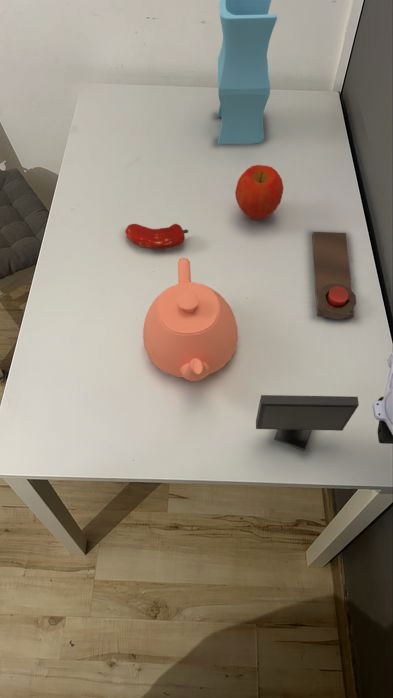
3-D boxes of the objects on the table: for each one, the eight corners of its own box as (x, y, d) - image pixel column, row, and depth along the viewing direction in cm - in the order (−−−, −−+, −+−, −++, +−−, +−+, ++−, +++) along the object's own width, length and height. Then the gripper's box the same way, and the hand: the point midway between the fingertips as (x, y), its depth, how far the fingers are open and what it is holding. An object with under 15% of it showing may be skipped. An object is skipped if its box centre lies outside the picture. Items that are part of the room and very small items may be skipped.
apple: (243, 238, 93) (246, 194, 84) (227, 207, 97) (228, 162, 88) (285, 226, 94) (294, 181, 85) (268, 196, 98) (274, 150, 89)
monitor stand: (304, 451, 73) (312, 435, 67) (274, 439, 74) (279, 423, 68) (313, 423, 75) (321, 406, 69) (283, 412, 76) (289, 394, 70)
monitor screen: (342, 431, 69) (359, 405, 62) (255, 429, 70) (261, 404, 62) (341, 422, 70) (357, 396, 62) (255, 421, 70) (261, 394, 63)
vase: (264, 143, 106) (277, 17, 84) (217, 144, 106) (219, 18, 84) (261, 113, 111) (274, -13, 89) (217, 114, 111) (218, -12, 89)
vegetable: (187, 215, 91) (124, 220, 93) (184, 228, 87) (118, 234, 89) (191, 238, 94) (129, 242, 96) (188, 251, 90) (124, 256, 92)
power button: (347, 308, 82) (349, 302, 81) (327, 307, 82) (329, 301, 81) (345, 292, 84) (347, 286, 82) (326, 291, 84) (328, 285, 83)
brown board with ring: (353, 322, 83) (357, 314, 81) (316, 321, 84) (319, 312, 81) (345, 235, 93) (348, 226, 90) (311, 234, 93) (314, 225, 91)
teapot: (247, 403, 77) (253, 366, 66) (149, 414, 76) (139, 378, 66) (227, 288, 87) (230, 240, 77) (142, 297, 87) (132, 250, 76)
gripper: (376, 331, 54) (347, 385, 66) (398, 462, 47) (361, 496, 59) (442, 332, 54) (401, 386, 66) (474, 464, 47) (421, 497, 59)
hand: (386, 438), depth 63 cm, fingers closed
